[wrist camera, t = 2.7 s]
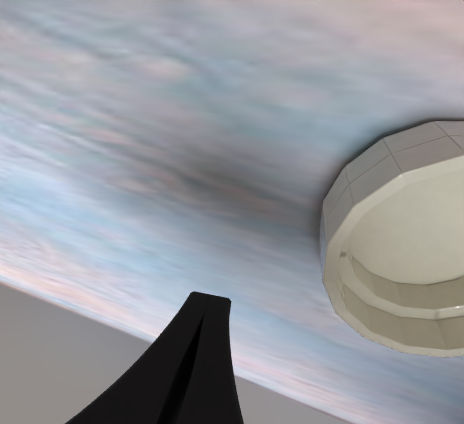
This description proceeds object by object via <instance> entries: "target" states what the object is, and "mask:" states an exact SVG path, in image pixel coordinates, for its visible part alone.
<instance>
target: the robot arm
mask: <svg viewBox="0 0 464 424" xmlns="http://www.w3.org/2000/svg"><path fill="white" fill-rule="evenodd" d="M230 308H231V300H230V299H229V298H225V297H220V296H215V295H210V294H205V293H200V292H195V291H194V292H192V293H190V295H189V297H188V298H187V300H186V301H185V303H184V304H183V306H182V307H181V309H180V310H179V311H178V313H177V314H176V315H175V317H174V318H173V319H172V321H171V322H170V323H169V325H168V326H167V327H166V328H165V329H164V331H163V332H162V333H161V334H160V336H159V337H158V338H157V339H156V340H155V341H154V343H153V344H152V345H151V346H150V347H149V348H148V349H147V350H146V351H145V353H144V354H143V355H142V356H141V357H140V358H139V359H138V360H137V361H136V362H135V363H134V364H133V365H132V366H131V367H130V368H129V369H128V370H127V371H126V372H125V373H124V374H123V375H122V376H121V377H120V378H119V379H118V380H117V381H116V382H115V383H113V384H112V385H111V386H110V387H109V388H108V389H107V390H106V391H104V392H103V393H102V394H101V395H100V396H99V397H98V398H97V399H95V400H94V401H93V402H92V403H91V404H90V405H88V406H87V407H86V408H85V409H83V410H82V411H81V412H80V413H78V414H77V415H76V416H74V417H73V418H72V419H70V420H69V421H68V422H66V423H65V424H244V423H243V418H242V415H241V410H240V405H239V401H238V396H237V391H236V385H235V379H234V373H233V366H232V358H231V348H230V336H229V315H230Z"/></svg>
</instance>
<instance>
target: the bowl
mask: <svg viewBox="0 0 464 424" xmlns="http://www.w3.org/2000/svg"><path fill="white" fill-rule="evenodd" d="M319 240H320V254H321V267H322V281H323V284H324V287H325V289H326V291H327V294H328V296H329V298H330V301H331V303H332V306H333V308H334V310H335V313H336V314H337V315H338V316H339V317H341V318H342V319H343V320H344V321H345V322H346V323H347V324H349V325H350V326H351V327H352V328H353V329H354V330H355V331H357V332H358V333H359V334H360V335H361V336H362V337H364V338H366V339H369V340H371V341H374V342H376V343H379V344H381V345H384V346H386V347H389V348H391V349H394V350H396V351H399V352H402V353H409V354H418V355H427V356H436V357H445V358H447V357H456V356H464V121H434V122H429V123H426V124H423V125H420V126H417V127H414V128H411V129H408V130H405V131H402V132H399V133H396V134H393V135H390V136H387V137H384V138H383V139H381V140H379V141H378V142H377V143H375V144H374V145H373V146H371V147H370V148H369V149H367V150H366V151H365V152H363V153H362V154H361V155H359V156H358V157H357V158H356V159H354V160H353V161H352V162H350V163H349V164H348V165H346V166H345V168H343V170H342V171H341V173H340V175H339V176H338V178H337V179H336V181H335V183H334V184H333V186H332V188H331V189H330V191H329V192H328V194H327V196H326V197H325V199H324V201H323V203H322V212H321V221H320V230H319Z"/></svg>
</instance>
